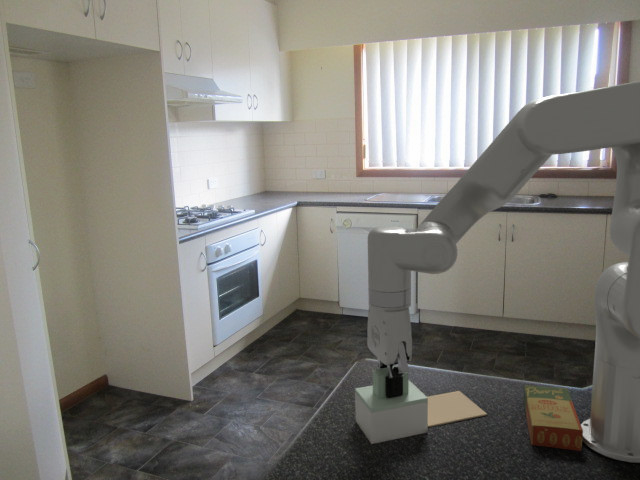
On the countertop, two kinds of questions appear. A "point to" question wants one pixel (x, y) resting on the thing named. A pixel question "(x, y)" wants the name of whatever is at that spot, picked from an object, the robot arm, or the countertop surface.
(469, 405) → the mat
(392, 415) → the tub
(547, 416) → the carton
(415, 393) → the lid
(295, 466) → the countertop surface
